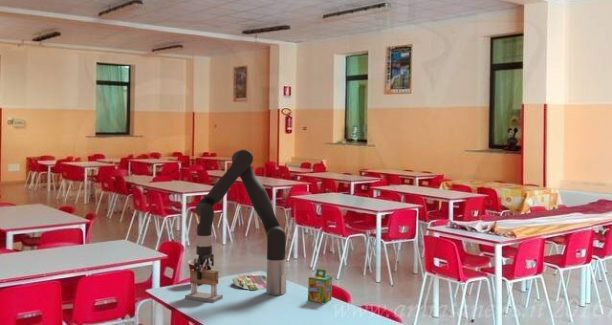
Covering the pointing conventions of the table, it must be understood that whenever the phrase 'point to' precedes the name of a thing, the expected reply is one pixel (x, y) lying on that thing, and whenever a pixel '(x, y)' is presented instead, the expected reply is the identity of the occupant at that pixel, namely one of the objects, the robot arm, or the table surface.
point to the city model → (250, 281)
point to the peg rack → (203, 294)
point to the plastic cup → (191, 266)
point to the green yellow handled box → (320, 287)
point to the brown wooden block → (204, 277)
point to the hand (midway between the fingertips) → (204, 277)
